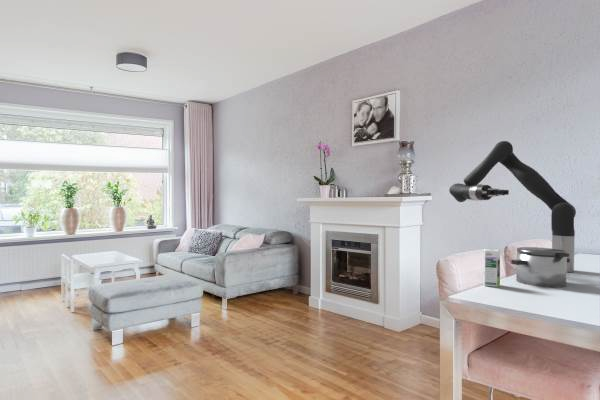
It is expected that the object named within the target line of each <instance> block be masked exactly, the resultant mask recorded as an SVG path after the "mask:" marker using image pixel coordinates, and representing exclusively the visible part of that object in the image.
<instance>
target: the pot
mask: <svg viewBox="0 0 600 400" xmlns="http://www.w3.org/2000/svg"><path fill="white" fill-rule="evenodd" d="M567 262H570V259H569V258H567V257H558V256H541V255H531V254H524V253H519V252H517V251H516V259H511V261H510V263H511V264H512V265H515V266H516V269H515V270H516V273H515V274H516V275H515V276H516V277H515V278H516V279H515V280H516V282H518V283H520V284H523V285H527V284H528V285H527V286H534V287H540V288H541V287H542V288H564V287H567V272H566V270H567Z"/></svg>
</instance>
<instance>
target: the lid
mask: <svg viewBox="0 0 600 400" xmlns="http://www.w3.org/2000/svg"><path fill="white" fill-rule="evenodd" d="M517 252H519V253H524V254H531V255H541V256H558V257H569V254H568V253H567V252H566V251H564V250H558V249H552V247H551V248H549V247H537V246H536V247H535V246H524V247H516V253H517Z"/></svg>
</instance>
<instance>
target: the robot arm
mask: <svg viewBox="0 0 600 400" xmlns="http://www.w3.org/2000/svg"><path fill="white" fill-rule="evenodd" d="M512 144H513V143H511V142H509V141H506V140H502V141H499V142H497V143H496V144H495V145H494V147H493V148H492V150H491V151H490V152H489V153H488V155H487V156H486V157H485V158H483V160H482V161H481V162H480V163H479V164H477V166H476V167H475V168H474V169H473V170H472V171H471V172H469V174H468V175H466V177H464V179H463V183H464V184H463V183H454V184H452V185H451V186H450V187H449V194H450V195H451V196H452V197H453V198H454V199H455V200H456V201H457V202H458V203H464V202H466V201H467V200H475V201H489V200H491V199H492V198H493V197H500V196H506V195H507V196H508V195H509V194H510V193H509V189H500V188H493V187H492V186H490V185H489V184H480V183H481V182H482V181H483V180H484V179H485V178H486V177H487V175H489V173H490V171H491V170H492V169H493V168H494V167H495V166H497V164H498V163H499V164H501V165H502V166H503V167H505V168H506V169H507V170H508V171H509V172H510V173H511V174H512V175H513V177H515V178H516V180H517V181H518V182H519V183H520V184H521V185H522V186H523V187H524V188H525V189H526V190H527V191H529V192H530V193H531V194H532V195H534V196H535V197H536V198H538V199H539V200H541V202H543V203H544V204H545V205H546V206H547V208H548V209H550V211H551V217H550V218H551V225H550V226H551V249H558V250H564V251H566V252H567V253H568V254H569V257H567V258H569V259H570V262H567V270H566V273H574V271H575V234H576V233H575V232H576V231H575V217H576V213H577V211H576V208H575V206H573V205H572V203H570V202H568V201H567V200H566V199H564V198H563V196H561V195H560V194H559V193H558V192H557V191H556V190H555V189H554V188H553V187H552V185H550V184H549V182H548V181H547V180H546V179H545V178H544V177H543V176H542V175H541V174H540V173H539V172H538V171H537V170H536V169H534V168H533V167H531V166H530V165H527V164H526V163H524V162H522V161H521V160H520V159H519V158H518V156H517V155H516V154H515V153H514V152H513V151H514V148H513V145H512Z"/></svg>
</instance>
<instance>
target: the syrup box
mask: <svg viewBox="0 0 600 400" xmlns="http://www.w3.org/2000/svg"><path fill="white" fill-rule="evenodd" d="M483 286H484V287H494V288H500V287H501V250H500V249H494V248H492V249H491V248H484V249H483Z"/></svg>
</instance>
